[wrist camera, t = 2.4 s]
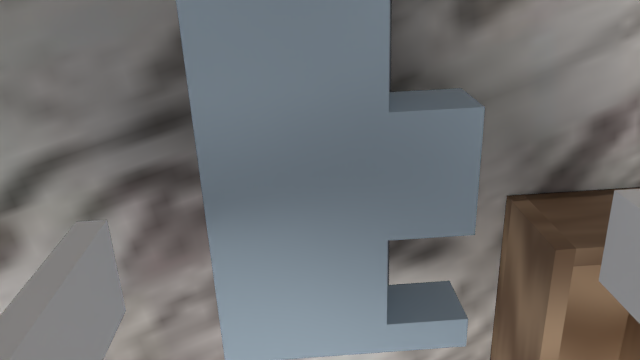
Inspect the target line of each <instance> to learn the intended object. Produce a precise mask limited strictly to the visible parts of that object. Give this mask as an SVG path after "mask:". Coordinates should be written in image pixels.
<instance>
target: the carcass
mask: <svg viewBox="0 0 640 360" xmlns="http://www.w3.org/2000/svg"><path fill="white" fill-rule="evenodd" d="M627 189H640V188H624V189H608V190H592V191H576V192H560V193H544V194H528V195H512V196H507V201H506V211H505V221H504V230H503V240H502V250H501V260H500V269H499V279H498V289H497V299H496V309H495V318H494V328H493V338H492V348H491V357H490V360H640V324H639V323H638V321H637V320H636V319H635V318H634V317H633V316H632V315H631V314H630V313H629V312H628V311H627V310H626V309H625V308H624V307H623V306H622V305H621V304H620V303H619V302H618V301H617V299H616V298H615V297H614V296H613V295H612V294H611V293H610V292H609V291H608V290H607V289H606V288H605V287H604V286H603V285H602V284H601V283H600V282H599V275H600V269H601V264H602V258H603V252H604V246H605V241H606V235H607V229H608V224H609V218H610V212H611V206H612V201H613V195H614V190H627Z"/></svg>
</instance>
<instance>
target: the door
mask: <svg viewBox="0 0 640 360" xmlns="http://www.w3.org/2000/svg"><path fill="white" fill-rule="evenodd" d="M176 5H177V12H178V19H179V27H180V34H181V41H182V49H183V56H184V63H185V71H186V78H187V85H188V93H189V100H190V107H191V115H192V122H193V129H194V137H195V144H196V151H197V159H198V166H199V173H200V181H201V188H202V195H203V203H204V210H205V217H206V225H207V232H208V239H209V247H210V254H211V261H212V269H213V276H214V283H215V291H216V298H217V305H218V313H219V320H220V327H221V335H222V342H223V349H224V357H225V360H284V359H297V358H311V357H325V356H338V355H352V354H366V353H380V352H393V351H407V350H421V349H434V348H448V347H462V346H466V339H467V327H468V318H467V316H466V314H465V312H464V310H463V308H462V306H461V304H460V302H459V300H458V297H457V295H456V293H455V291H454V289H453V287H452V285H451V283H450V281H441V282H426V283H411V284H397V285H387V264H388V241H389V240H404V239H420V238H435V237H451V236H466V235H475V226H476V214H477V201H478V188H479V176H480V163H481V151H482V138H483V126H484V113H485V107H484V106H483V105H482V104H480V103H479V102H478V101H477V100H475V99H474V98H473V97H472V96H470V95H469V94H468V93H467V92H465V91H464V90H463V89H462V88H455V89H437V90H418V91H400V92H389V47H390V0H176Z"/></svg>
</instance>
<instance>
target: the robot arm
mask: <svg viewBox="0 0 640 360" xmlns="http://www.w3.org/2000/svg"><path fill="white" fill-rule="evenodd" d="M599 282H600V283H601V284H602V285H603V286H604V287H605V288H606V289H607V290H608V291H609V292H610V293H611V294H612V295H613V296H614V297H615V298H616V299H617V301H618V302H619V303H620V304H621V305H622V306H623V307H624V308H625V309H626V310H627V311H628V312H629V313H630V314H631V315H632V316H633V317H634V318H635V319H636V320H637V321H638V323H639V324H640V189H627V190H614V195H613V201H612V206H611V212H610V218H609V224H608V229H607V235H606V241H605V246H604V252H603V258H602V264H601V269H600V275H599ZM125 312H126V308H125V303H124V299H123V294H122V289H121V284H120V279H119V275H118V270H117V265H116V260H115V256H114V251H113V246H112V241H111V236H110V232H109V227H108V222H107V220H95V221H78V222H76V223H75V224H74V225H73V227H72V228H71V229H70V230H69V231H68V233H67V234H66V235H65V236H64V238H63V239H62V240H61V241H60V243H59V244H58V245H57V246H56V248H55V249H54V250H53V251H52V252H51V254H50V255H49V256H48V257H47V259H46V260H45V261H44V262H43V264H42V265H41V266H40V267H39V268H38V270H37V271H36V272H35V273H34V275H33V276H32V277H31V278H30V280H29V281H28V282H27V283H26V284H25V286H24V287H23V288H22V289H21V291H20V292H19V293H18V294H17V296H16V297H15V298H14V299H13V300H12V302H11V303H10V304H9V305H8V307H7V308H6V309H5V310H4V312H3V313H2V314H1V315H0V360H103V359H104V356H105V354H106V352H107V350H108V348H109V346H110V344H111V342H112V339H113V337H114V335H115V333H116V331H117V329H118V327H119V324H120V322H121V320H122V318H123V316H124V314H125Z"/></svg>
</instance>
